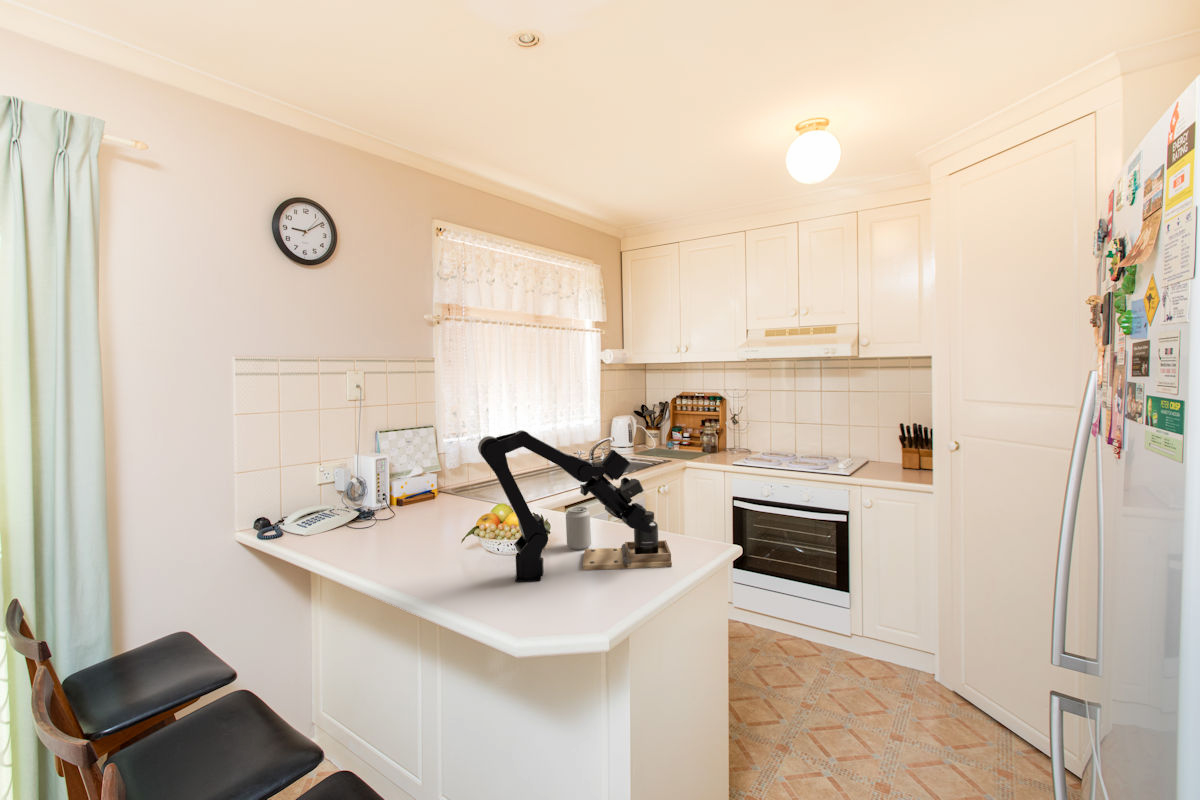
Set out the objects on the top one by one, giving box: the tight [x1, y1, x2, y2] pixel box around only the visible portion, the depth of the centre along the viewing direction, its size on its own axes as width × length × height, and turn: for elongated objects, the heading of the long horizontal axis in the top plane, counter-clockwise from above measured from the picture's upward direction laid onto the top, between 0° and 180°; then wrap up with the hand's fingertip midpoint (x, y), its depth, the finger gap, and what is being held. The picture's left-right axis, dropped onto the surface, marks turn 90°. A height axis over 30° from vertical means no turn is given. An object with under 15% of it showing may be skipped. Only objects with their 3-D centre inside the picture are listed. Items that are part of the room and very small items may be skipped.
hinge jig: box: [582, 539, 673, 571], centre depth 150 cm, size 24×14×3 cm, turn 89°
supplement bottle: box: [633, 510, 659, 554], centre depth 150 cm, size 7×7×12 cm
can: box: [565, 506, 592, 551], centre depth 163 cm, size 8×8×12 cm
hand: (644, 527), depth 149 cm, fingers open, 9 cm apart
